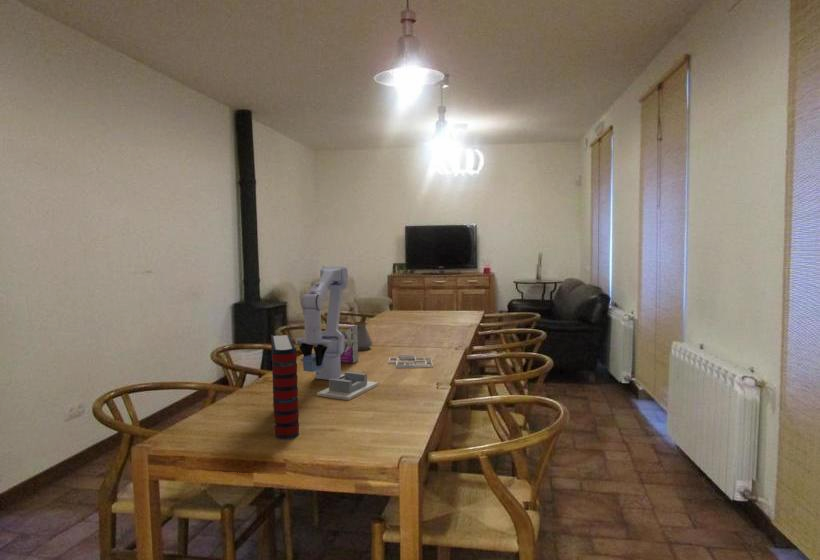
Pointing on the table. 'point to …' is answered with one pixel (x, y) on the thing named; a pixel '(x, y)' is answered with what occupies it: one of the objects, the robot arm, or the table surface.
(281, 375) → the book
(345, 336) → the candy bar box
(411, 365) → the floor plan model
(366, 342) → the coffee pot
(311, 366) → the block
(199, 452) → the table surface
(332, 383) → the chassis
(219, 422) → the table surface
